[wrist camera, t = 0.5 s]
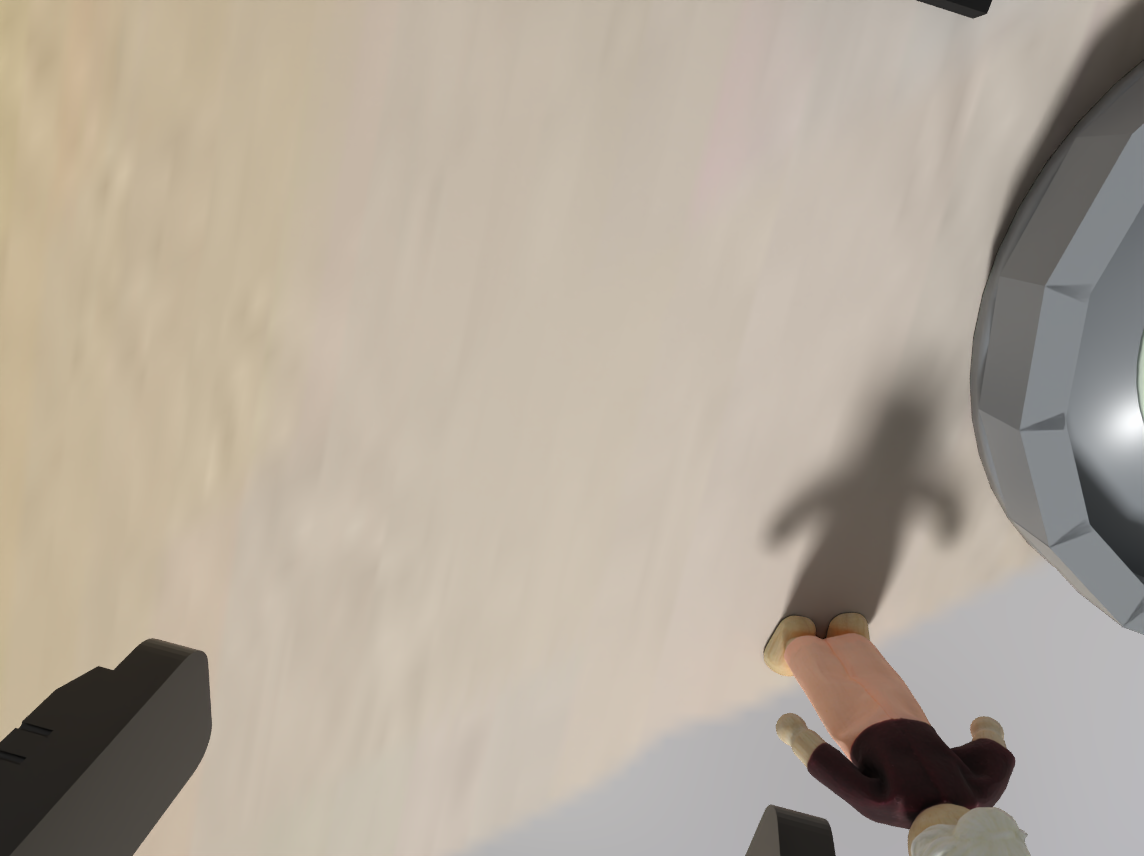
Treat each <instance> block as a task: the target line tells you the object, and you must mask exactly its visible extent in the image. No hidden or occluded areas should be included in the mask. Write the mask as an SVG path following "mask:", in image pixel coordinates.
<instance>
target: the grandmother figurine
mask: <svg viewBox="0 0 1144 856" xmlns="http://www.w3.org/2000/svg"><path fill="white" fill-rule="evenodd" d="M815 635H816V627H815V625H814V623H813V622H812V621H811V620H810V619H809V618H806V617H802V616H789V617H787V618H785V619H784V620H783V621H782V622H781V623H780V624H779V626H778V627H777V629H776V631H775V632H774V634H773V636H772V638H771V639H770V641H769V643H768V645H767V646H766V648H765V651H764V661H765V663H766V665H767V666H768V667H769V668H770V669H771V670H773V671H774V672H776V673H778V674H780V675H784V676H794V677H795V678H796V680H797V681H798V683H799V684H800V686H801V687H802V689H803V690H804V692H805V693H806V695H807V697H808V698H809V700H810V702H811V703H812V705H813V707H814V708H815V710H816V712H817V714H818V716H819V718H820V720H821V721H822V722H823V724H824V726H825V727H826V729H827V731H828V732H829V734H830V735H831V737H832V738H833V739H834V740H835V742H836V743H837V744H838V745H839V746H840V747H841V749H842V750H843V751H844V753H845V755H846V756H847V757H848V758H849V759H847V758H846V757H845V756H844V755H843V754H842V753H841V752H840V751H839V750H837V749H835V748H834V747H832V746H831V745H830V744H828V743H826V742H825V741H824V740H823V739H822V738H821V737H820V736H819V735H818V734H817V733H816V732H814V731H812V730H810V729H808V728H807V726H806V723H805V722H804V721H803V719H802V718H801V717H799V716H798V715H796V714H793V713H787V714H784V715H782V716H781V717H780V718H779V720H778V721H777V724H776V731H777V734H778V736H779V738H780V739H781V740H782V741H783V742H784V743H785V744H788V745H790V746H791V747H792V750H793V752H794V754H795V755H796V756H797V757H798V758H799V759H800V760H801V761H802V762H803V763H804V765H805V766H806V767H807V769H808V771H809V773H810V774H811V775H812V776H813V777H814V778H816V779H817V780H818V781H819V782H821V783H822V784H824V785H825V786H826V787H828V788H829V789H830V790H832V791H833V792H834V793H835V794H837V795H838V796H840V797H841V798H842V799H844V800H845V801H846V802H847V803H849V804H850V805H851V806H852V807H854V808H855V809H856V810H857V811H858V812H860V813H861V814H862V815H864V816H865V817H867V818H869V819H870V820H873V821H875V822H878V823H883V824H888V825H891V826H896V827H901V828H906V829H910V830H909V835H908V852H909V856H1030V853H1029V851H1028V849H1027V847H1026V845H1025V838H1026V837H1027V835H1028V834H1027V833H1025V832H1024V831H1023V830H1021V829H1019V828H1018V826H1017V823H1016V821H1015V820H1014V819H1013V817H1012V816H1010V815H1009V814H1008V813H1006V812H1005V811H1003V810H1001V809H999V808H995V807H993V806H994V805H995V803H996V802H997V801H998V800H999V799H1000V797H1001V795H1002V794H1003V792H1004V790H1005V789H1006V787H1007V784H1008V782H1009V778H1010V776H1011V774H1012V771H1013V768H1014V766H1015V757H1014V756H1013V754H1012V753H1011V752H1010V751H1009V750H1008V749H1007V748H1006V744H1005V741H1004V740H1003V738H1004V732H1003V729H1002V727H1001V725H1000V724H999V723H998V722H997V721H996V720H994V719H992V718H990V717H978V718H976V719H975V720H974V721H973V722H972V724H971V727H970V730H971V734H972V737H973V739H972V741H971V742H969V743H967V744H965V745H963V746H960V747H955V748H951V749H950V748H949V747H948V746H947V745H946V744H945V743H944V742H943V741H942V739H941V738H940V737H939V736H938V734H937V733H936V731H935V729H934V728H933V727H932V726H931V724H930V723H929V722H928V719H927V718H926V716H925V714H924V712H923V710H922V709H921V707H920V705H919V704H918V702H917V701H916V699H915V698H914V696H913V695H912V693H911V692H910V690H909V689H908V687H907V685H906V684H905V683H904V681H903V680H902V679H901V677H900V676H899V675H898V674H897V673H896V671H895V670H894V669H893V668H892V667H891V666H890V665H889V663H888V662H887V661H886V660H885V658H884V657H883V656H882V655H881V653H880V652H879V651H878V649H877V648H876V647H875V646H874V645H873V644H872V643H871V641H870V639H869V632H868V625H867V621H866V619H865V618H864V617H863V616H862V615H861V614H858V613H844V614H840V615H838V616H836V617H835V618H834V619H833V620H832V621H831V622H830V625H829V628H828V632H827V637H826V639H820V638H818V637H816V636H815Z"/></svg>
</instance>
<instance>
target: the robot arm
mask: <svg viewBox="0 0 1144 856" xmlns="http://www.w3.org/2000/svg"><path fill="white" fill-rule="evenodd" d="M211 729H212V718H211V702H210V686H209V671H208V659H207V656H206V654H205V653H204V652H203V651H200V650H196V649H192V648H188V647H185V646H181V645H177V644H173V643H170V642H166V641H162V640H158V639H153V638H152V639H148V640H146V641H144V642H142V643H141V644H139V645H138V646H137V647H136V648H135V649H134V650H133V651H132V652H131V653H130V654H129V655H128V656H127V657H126V658H125V659H124V660H123V661H122V662H121V663H120V664H119V665H118V666H117V667H116V668H115V669H114V670H110V669H107V668H103V667H99V666H98V667H96V668H94V669H93V670H91V671H89V672H87V673H85V674H83V675H82V676H80V677H78V678H76V679H74V680H73V681H71V682H69V683H67V684H65V685H64V686H62V687H60V688H58V689H56V690H55V691H54V692H53V693H52V694H51V695H50V696H49V697H48V698H47V699H46V700H44V701H43V702H42V703H41V704H40V705H39V706H38V707H37V708H36V709H35V710H34V711H33V712H32V713H31V714H30V715H29V716H28V717H26V718H25V719H24V720H23V721H22V725H21V726H20V728H18V729H17V728H15V729H14V730H13V731H12V732H11V733H10V734H9V735H7V736H6V737H5V738H4V739H3V740H2V741H1V742H0V856H133V854H134V853H135V852H136V850H137V849H138V848H139V846H140V845H141V843H142V842H143V841H144V839H145V838H146V837H147V835H148V834H149V833H150V831H151V830H152V829H153V827H154V826H155V824H156V823H157V822H158V820H159V819H160V818H161V816H162V815H163V814H164V812H165V811H166V810H167V808H168V807H169V806H170V804H171V803H172V801H173V800H174V799H175V797H176V796H177V795H178V793H179V792H180V791H181V789H182V788H183V787H184V785H185V784H186V782H187V781H188V780H189V778H190V777H191V776H192V774H193V773H194V771H195V770H196V769H197V767H198V765H199V763H200V762H201V760H202V758H203V756H204V753H205V751H206V748H207V746H208V743H209V739H210V735H211ZM745 856H836V855H835V849H834V842H833V836H832V831H831V827H830V825H829V823H828V821H827V820H826V819H823V818H820V817H816V816H812V815H808V814H805V813H801V812H796V811H793V810H790V809H786V808H782V807H778V806H775V805H769V806H768V807H767V808H766V810H765V812H764V814H763V816H762V818H761V821H760V823H759V825H758V828H757V830H756V832H755V834H754V837H753V839H752V841H751V844H750V846H749V848H748V851H747V853H746V855H745Z"/></svg>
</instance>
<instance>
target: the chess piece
mask: <svg viewBox="0 0 1144 856" xmlns="http://www.w3.org/2000/svg"><path fill="white" fill-rule="evenodd" d="M917 1H920V2H923V3H927V4H930V5H933V6H936V7H939V8H942V9H945V10H948V11H951V12H955V13H958V14H961V15H964V16H967V17H970V18H976V17H979V16H982V15H985V14H987V12H988V10H989V7H990V5H991V2H992V0H917Z"/></svg>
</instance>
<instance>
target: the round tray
mask: <svg viewBox="0 0 1144 856" xmlns="http://www.w3.org/2000/svg"><path fill="white" fill-rule="evenodd" d="M970 389H971V409H972V421H973V426H974V431H975V436H976V441H977V447H978V452H979V456H980V459H981V461H982V464H983V467H984V470H985V472H986V475H987V478H988V481H989V484H990V486H991V489H992V491H993V492H994V494H995V496H996V498H997V500H998V501H999V503H1000V505H1001V507H1002V509H1003V510H1004V512H1005V514H1006V516H1007V518H1008V519H1009V520H1010V521H1011V523H1012V524H1013V525H1014V526H1015V528H1016V529H1017V530H1018V531H1019V533H1020V534H1021V535H1022V537H1023V538H1024V539H1025V540H1026V542H1027V543H1028V544H1029V545H1030V546H1031V547H1032V548H1033V549H1035V550H1036V551H1037V552H1038V553H1039V554H1040V555H1041V556H1042V557H1043V558H1044V559H1046V560H1047V561H1048V562H1049V563H1050V564H1051V565H1052V566H1054V567H1055V568H1056V569H1057V570H1058V571H1059V572H1060V573H1061V574H1062V576H1063V577H1064V578H1065V579H1066V580H1067V581H1068V582H1069V583H1070V584H1071V585H1072V586H1073V587H1074V588H1075V589H1076V591H1077V592H1078V593H1080V594H1081V595H1082V596H1083V597H1085V598H1086V599H1087V600H1089V601H1090V602H1091V603H1092V604H1094V605H1095V606H1096V607H1098V608H1099V609H1100V610H1102V611H1103V612H1104V613H1105V614H1107V615H1108V616H1109V617H1111V618H1112V619H1113V620H1114V621H1116V622H1117V623H1118V624H1119V625H1121V626H1122V627H1124V628H1127V629H1129V630H1132V631H1135V632H1138V633H1141V634H1143V635H1144V60H1143V61H1142V62H1141V63H1140V64H1138V65H1137V66H1136V67H1135V68H1134V69H1132V70H1131V71H1130V72H1129V73H1128V74H1127V75H1125V76H1124V77H1123V78H1122V79H1121V80H1119V81H1118V82H1117V83H1116V84H1115V85H1114V86H1113V87H1112V88H1111V89H1110V90H1109V91H1108V92H1107V93H1106V94H1105V95H1104V96H1103V97H1102V98H1101V99H1100V100H1099V101H1098V102H1097V103H1096V104H1095V106H1094V107H1093V108H1092V109H1091V110H1090V111H1089V112H1088V113H1087V114H1086V115H1085V116H1084V117H1083V118H1082V119H1081V120H1080V121H1079V122H1078V123H1077V125H1076V126H1075V127H1074V128H1073V130H1072V131H1071V132H1070V134H1069V135H1068V136H1067V137H1066V139H1065V140H1064V141H1063V143H1062V144H1061V145H1060V146H1059V148H1058V149H1057V150H1056V152H1055V153H1054V154H1053V155H1052V157H1051V158H1050V159H1049V161H1048V162H1047V163H1046V165H1045V166H1044V168H1043V169H1042V171H1041V173H1040V174H1039V176H1038V177H1037V179H1036V181H1035V182H1034V184H1033V185H1032V187H1031V189H1030V190H1029V192H1028V194H1027V195H1026V197H1025V198H1024V200H1023V202H1022V203H1021V205H1020V206H1019V208H1018V210H1017V212H1016V215H1015V217H1014V219H1013V221H1012V223H1011V225H1010V227H1009V229H1008V231H1007V233H1006V236H1005V238H1004V240H1003V242H1002V244H1001V246H1000V248H999V250H998V253H997V256H996V258H995V261H994V264H993V267H992V270H991V273H990V276H989V279H988V282H987V285H986V287H985V290H984V293H983V297H982V301H981V306H980V311H979V315H978V320H977V325H976V329H975V334H974V339H973V351H972V362H971V374H970Z"/></svg>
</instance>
